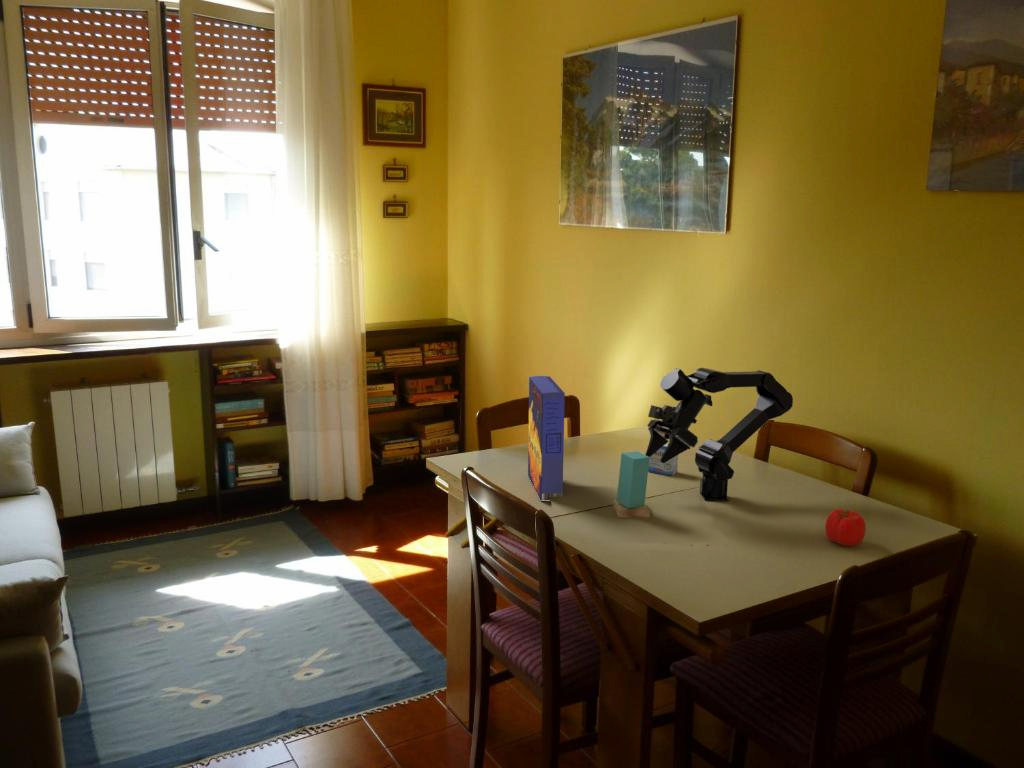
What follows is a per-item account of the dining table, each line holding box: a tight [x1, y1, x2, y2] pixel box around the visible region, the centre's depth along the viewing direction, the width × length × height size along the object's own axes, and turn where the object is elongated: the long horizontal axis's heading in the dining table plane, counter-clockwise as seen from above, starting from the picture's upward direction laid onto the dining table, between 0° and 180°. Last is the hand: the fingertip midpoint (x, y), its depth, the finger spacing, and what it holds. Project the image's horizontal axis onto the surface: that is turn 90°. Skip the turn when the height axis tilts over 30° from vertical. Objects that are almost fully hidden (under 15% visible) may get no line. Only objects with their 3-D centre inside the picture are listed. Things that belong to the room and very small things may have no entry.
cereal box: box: [527, 375, 566, 501], centre depth 235 cm, size 22×6×30 cm, turn 8°
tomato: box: [824, 508, 867, 547], centre depth 200 cm, size 9×9×8 cm
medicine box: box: [648, 442, 679, 477], centre depth 252 cm, size 8×4×9 cm, turn 62°
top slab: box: [613, 498, 651, 518], centre depth 216 cm, size 8×8×2 cm
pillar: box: [616, 450, 650, 508], centre depth 214 cm, size 5×5×13 cm
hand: (654, 459), depth 220 cm, fingers open, 9 cm apart
